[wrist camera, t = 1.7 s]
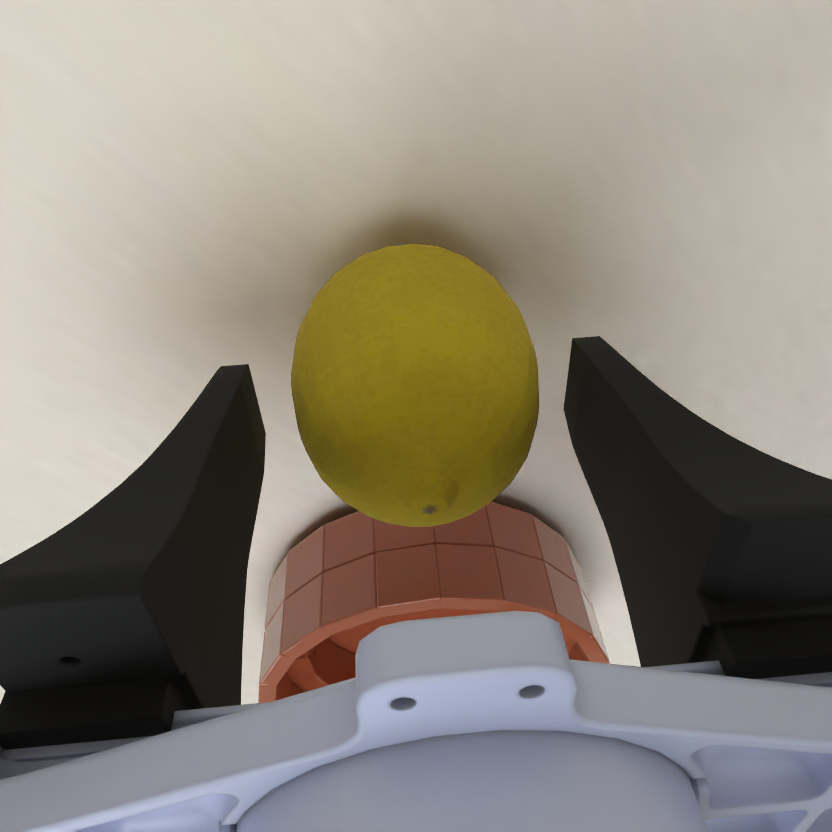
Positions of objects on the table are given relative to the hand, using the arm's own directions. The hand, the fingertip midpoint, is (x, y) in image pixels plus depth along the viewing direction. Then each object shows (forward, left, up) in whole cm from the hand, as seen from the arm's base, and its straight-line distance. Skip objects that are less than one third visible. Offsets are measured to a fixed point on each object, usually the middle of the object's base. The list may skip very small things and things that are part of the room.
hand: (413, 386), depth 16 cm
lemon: (0, 0, -5) cm, 5 cm away
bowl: (-7, +12, -4) cm, 15 cm away
